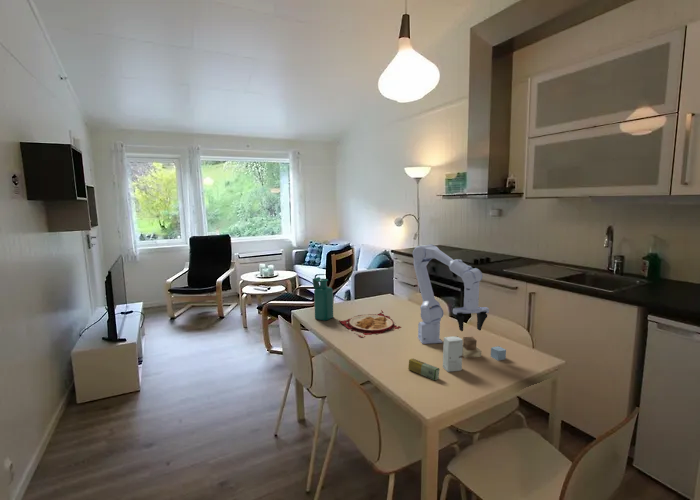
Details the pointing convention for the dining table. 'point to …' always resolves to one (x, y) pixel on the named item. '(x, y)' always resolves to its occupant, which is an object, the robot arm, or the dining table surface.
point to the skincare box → (452, 353)
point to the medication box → (424, 369)
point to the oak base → (471, 353)
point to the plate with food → (370, 324)
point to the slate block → (498, 353)
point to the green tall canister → (323, 299)
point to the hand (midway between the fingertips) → (470, 330)
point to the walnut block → (469, 343)
